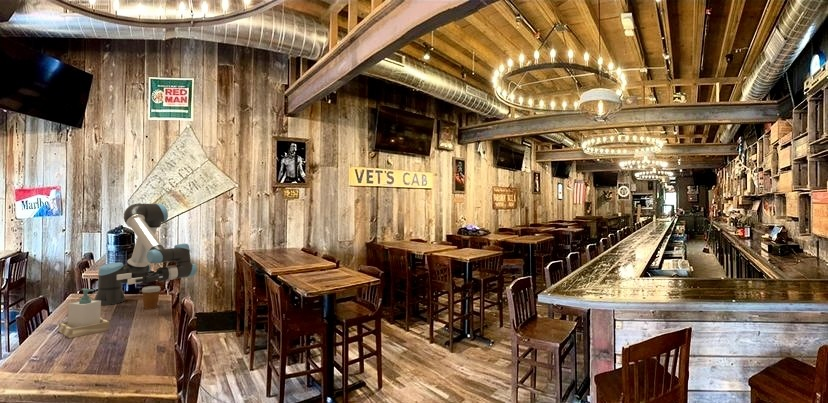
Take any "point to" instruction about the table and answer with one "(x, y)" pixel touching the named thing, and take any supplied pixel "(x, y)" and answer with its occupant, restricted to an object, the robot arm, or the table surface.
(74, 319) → the soap bottle
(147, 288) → the disposable coffee cup
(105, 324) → the caddy
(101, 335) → the table surface
